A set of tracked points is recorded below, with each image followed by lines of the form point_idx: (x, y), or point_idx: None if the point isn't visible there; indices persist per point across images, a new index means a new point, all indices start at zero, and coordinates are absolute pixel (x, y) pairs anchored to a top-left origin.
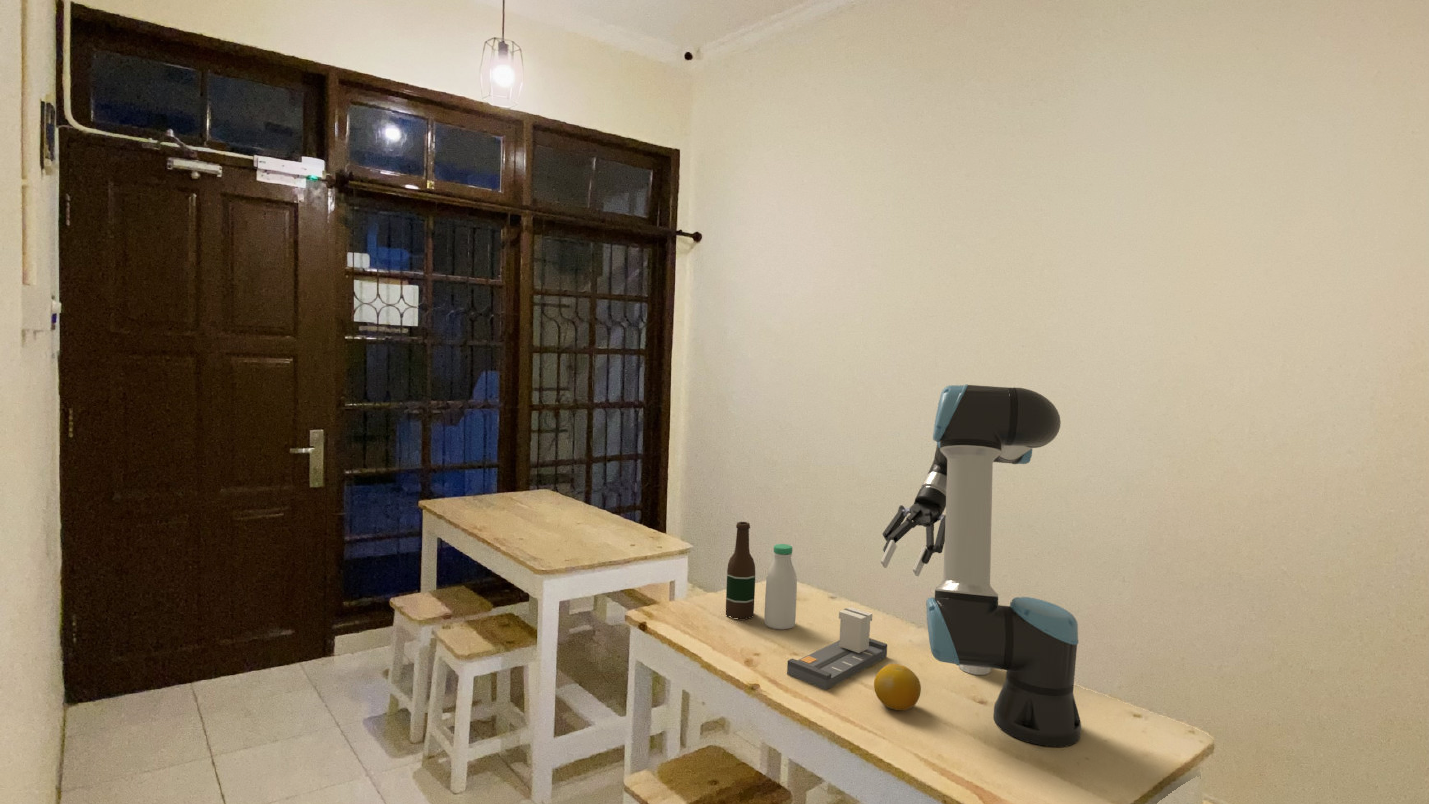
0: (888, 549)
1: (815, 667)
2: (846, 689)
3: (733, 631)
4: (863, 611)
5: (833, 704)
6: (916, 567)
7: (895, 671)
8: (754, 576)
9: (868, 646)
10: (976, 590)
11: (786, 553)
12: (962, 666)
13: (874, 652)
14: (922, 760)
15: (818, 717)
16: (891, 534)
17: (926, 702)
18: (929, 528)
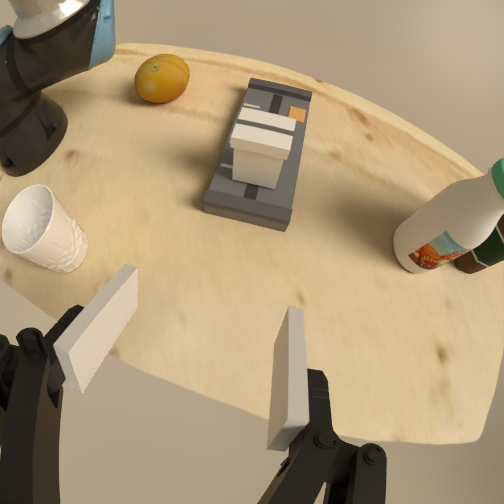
0: (291, 360)
1: (273, 87)
2: (228, 100)
3: (432, 189)
4: (252, 138)
5: (230, 74)
6: (118, 271)
7: (161, 54)
8: (496, 224)
9: (232, 176)
10: None
11: (493, 166)
12: (80, 226)
13: (219, 177)
14: (138, 52)
15: (234, 57)
16: (324, 462)
17: (132, 118)
18: (8, 480)
